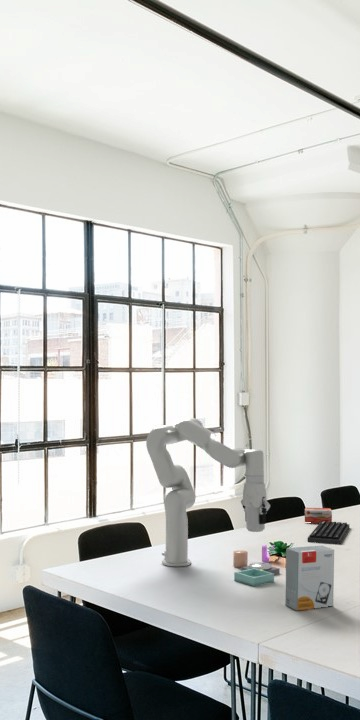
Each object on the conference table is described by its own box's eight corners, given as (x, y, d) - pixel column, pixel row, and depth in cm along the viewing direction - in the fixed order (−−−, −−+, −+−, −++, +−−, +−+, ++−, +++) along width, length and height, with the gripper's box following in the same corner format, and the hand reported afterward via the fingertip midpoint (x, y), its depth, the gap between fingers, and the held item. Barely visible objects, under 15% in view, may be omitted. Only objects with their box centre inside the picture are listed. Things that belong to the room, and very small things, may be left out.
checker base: (241, 572, 297) (241, 565, 297) (260, 568, 304) (260, 561, 304) (261, 577, 288) (261, 570, 289) (280, 573, 295) (280, 566, 295)
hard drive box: (296, 611, 244) (296, 552, 245) (284, 605, 251) (284, 547, 252) (334, 606, 251) (334, 548, 251) (321, 600, 258) (321, 544, 258)
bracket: (274, 562, 315) (274, 546, 315) (261, 561, 316) (261, 545, 317) (280, 556, 327) (280, 540, 327) (268, 555, 329) (268, 540, 329)
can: (244, 531, 295) (243, 502, 296) (249, 528, 302) (249, 499, 303) (261, 532, 292) (261, 502, 293) (266, 529, 299) (266, 500, 300)
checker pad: (245, 567, 297) (245, 564, 297) (260, 564, 303) (260, 561, 303) (260, 571, 290) (260, 568, 290) (276, 568, 296) (276, 565, 296)
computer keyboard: (320, 527, 401) (320, 520, 401) (349, 529, 396) (349, 522, 396) (307, 543, 358) (307, 535, 358) (339, 545, 353) (339, 537, 353)
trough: (234, 580, 284) (234, 572, 284) (254, 576, 291) (254, 568, 291) (254, 586, 275) (254, 578, 275) (274, 582, 282) (274, 573, 282)
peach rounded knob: (230, 565, 308) (230, 551, 308) (240, 563, 311) (240, 549, 312) (240, 568, 303) (240, 554, 303) (250, 566, 307) (250, 552, 307)
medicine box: (304, 523, 408) (304, 509, 409) (304, 521, 416) (304, 507, 417) (331, 524, 406) (331, 510, 406) (331, 522, 414) (331, 508, 414)
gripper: (233, 478, 303) (234, 521, 302) (263, 482, 289) (263, 526, 288) (246, 477, 307) (247, 518, 306) (276, 480, 294) (277, 524, 293)
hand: (255, 522), depth 297 cm, fingers closed on can, 7 cm apart
